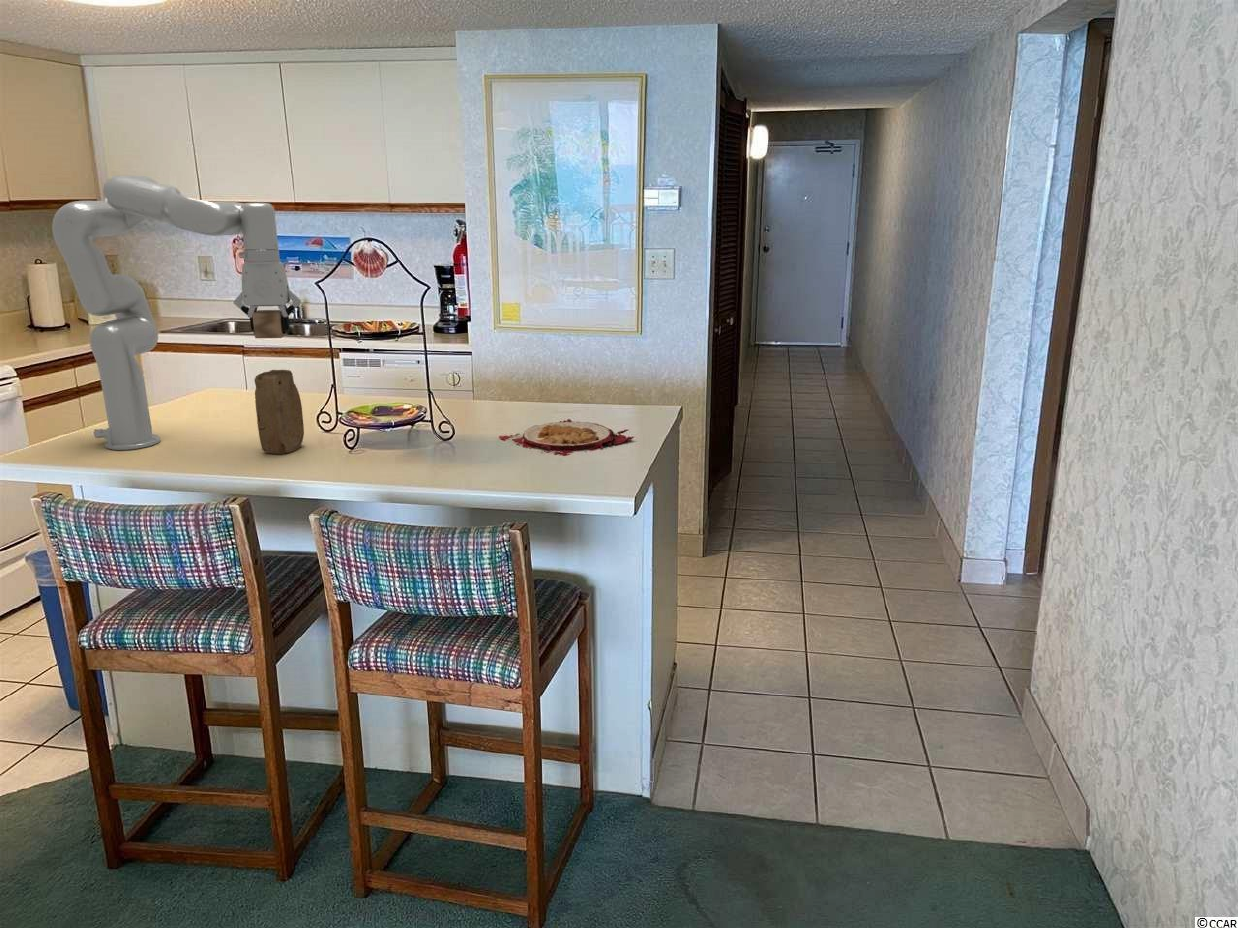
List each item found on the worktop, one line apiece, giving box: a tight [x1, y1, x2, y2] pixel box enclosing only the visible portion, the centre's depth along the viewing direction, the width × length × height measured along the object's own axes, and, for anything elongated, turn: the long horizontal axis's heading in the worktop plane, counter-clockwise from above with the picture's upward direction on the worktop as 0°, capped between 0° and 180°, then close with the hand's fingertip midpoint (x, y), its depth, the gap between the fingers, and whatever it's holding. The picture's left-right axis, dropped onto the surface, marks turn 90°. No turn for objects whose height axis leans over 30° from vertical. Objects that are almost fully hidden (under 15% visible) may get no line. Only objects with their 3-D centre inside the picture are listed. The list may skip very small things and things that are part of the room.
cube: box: [252, 309, 288, 339], centre depth 214 cm, size 6×6×6 cm
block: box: [253, 369, 305, 455], centre depth 220 cm, size 11×8×20 cm
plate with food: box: [498, 418, 635, 457], centre depth 232 cm, size 25×26×4 cm
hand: (271, 332), depth 214 cm, fingers closed on cube, 6 cm apart
